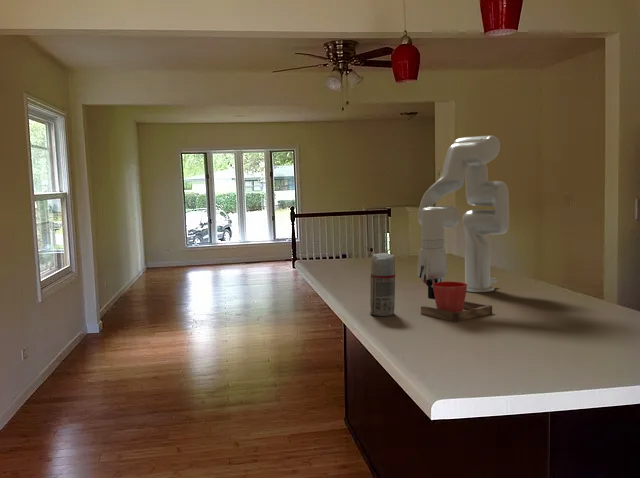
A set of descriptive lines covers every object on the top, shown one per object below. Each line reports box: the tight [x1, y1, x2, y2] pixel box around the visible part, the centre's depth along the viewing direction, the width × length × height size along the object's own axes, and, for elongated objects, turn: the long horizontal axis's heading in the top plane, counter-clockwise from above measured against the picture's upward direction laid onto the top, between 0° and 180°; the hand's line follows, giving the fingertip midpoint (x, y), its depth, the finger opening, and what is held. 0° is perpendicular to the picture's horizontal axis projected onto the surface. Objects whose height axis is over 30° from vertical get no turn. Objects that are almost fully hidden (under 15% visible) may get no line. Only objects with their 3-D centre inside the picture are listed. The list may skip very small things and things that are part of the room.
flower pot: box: [433, 281, 467, 313], centre depth 187 cm, size 11×11×10 cm
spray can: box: [369, 252, 396, 317], centre depth 188 cm, size 8×8×20 cm
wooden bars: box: [420, 300, 493, 323], centre depth 187 cm, size 17×15×2 cm
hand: (433, 298), depth 195 cm, fingers closed
